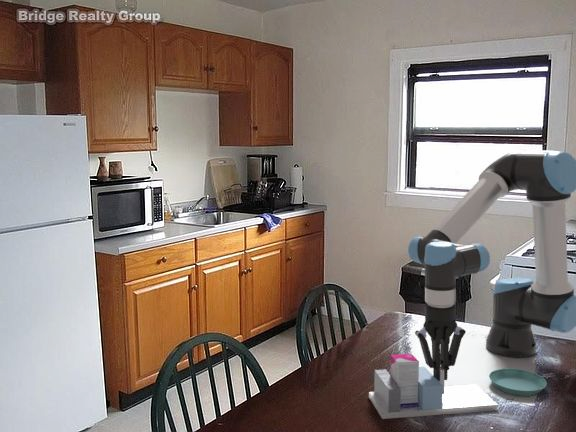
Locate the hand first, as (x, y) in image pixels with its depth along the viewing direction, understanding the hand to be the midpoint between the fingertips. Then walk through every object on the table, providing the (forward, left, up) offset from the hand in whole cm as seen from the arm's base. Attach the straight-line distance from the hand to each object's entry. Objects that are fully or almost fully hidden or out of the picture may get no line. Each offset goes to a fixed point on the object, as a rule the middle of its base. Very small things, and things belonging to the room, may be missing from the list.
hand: (440, 391), depth 150 cm
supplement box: (+10, 0, -2) cm, 10 cm away
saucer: (-25, -6, -4) cm, 26 cm away
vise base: (+2, 0, -3) cm, 4 cm away
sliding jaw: (+4, 0, -2) cm, 5 cm away
